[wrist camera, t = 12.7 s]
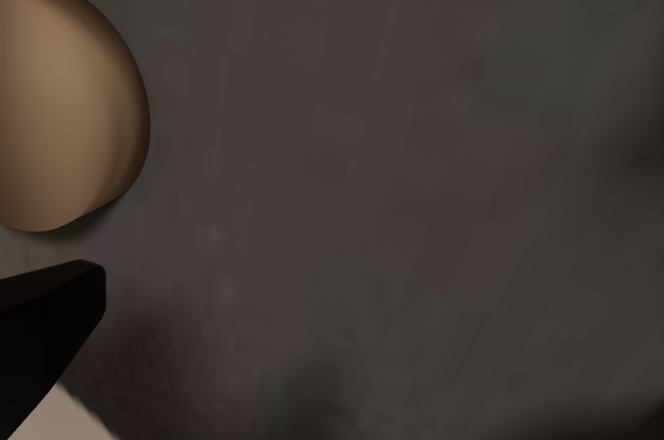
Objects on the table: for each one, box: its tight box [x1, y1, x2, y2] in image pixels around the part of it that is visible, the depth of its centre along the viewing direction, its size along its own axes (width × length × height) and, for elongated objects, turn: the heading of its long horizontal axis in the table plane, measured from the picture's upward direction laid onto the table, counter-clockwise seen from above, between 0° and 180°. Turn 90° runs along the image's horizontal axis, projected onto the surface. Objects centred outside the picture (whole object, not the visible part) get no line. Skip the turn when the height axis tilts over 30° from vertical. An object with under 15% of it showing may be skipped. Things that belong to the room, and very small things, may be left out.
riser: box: [0, 0, 150, 232], centre depth 22 cm, size 10×10×3 cm
